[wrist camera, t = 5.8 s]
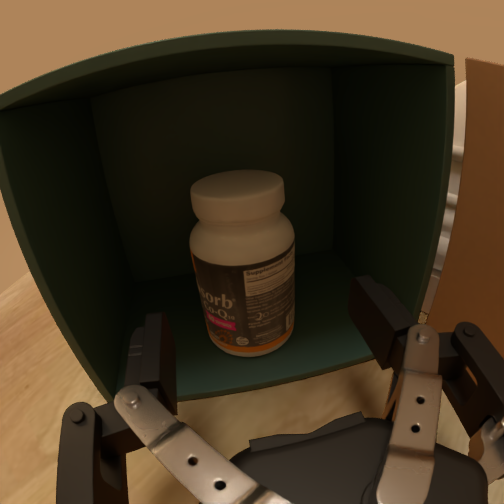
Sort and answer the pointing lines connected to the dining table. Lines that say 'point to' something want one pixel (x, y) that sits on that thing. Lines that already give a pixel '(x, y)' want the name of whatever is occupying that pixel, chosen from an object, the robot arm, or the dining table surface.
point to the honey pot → (449, 194)
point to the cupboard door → (477, 216)
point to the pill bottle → (244, 260)
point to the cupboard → (221, 160)
